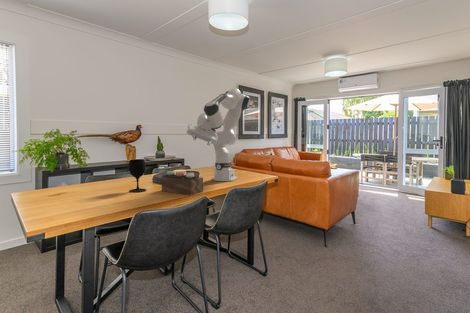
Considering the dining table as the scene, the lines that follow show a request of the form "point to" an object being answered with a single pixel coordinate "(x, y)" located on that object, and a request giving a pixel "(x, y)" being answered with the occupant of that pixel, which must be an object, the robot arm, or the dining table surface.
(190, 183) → the dark brown wooden box
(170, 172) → the sage button
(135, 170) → the wine glass
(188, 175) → the cream button
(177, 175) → the terracotta button
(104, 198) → the dining table surface
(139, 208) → the dining table surface
